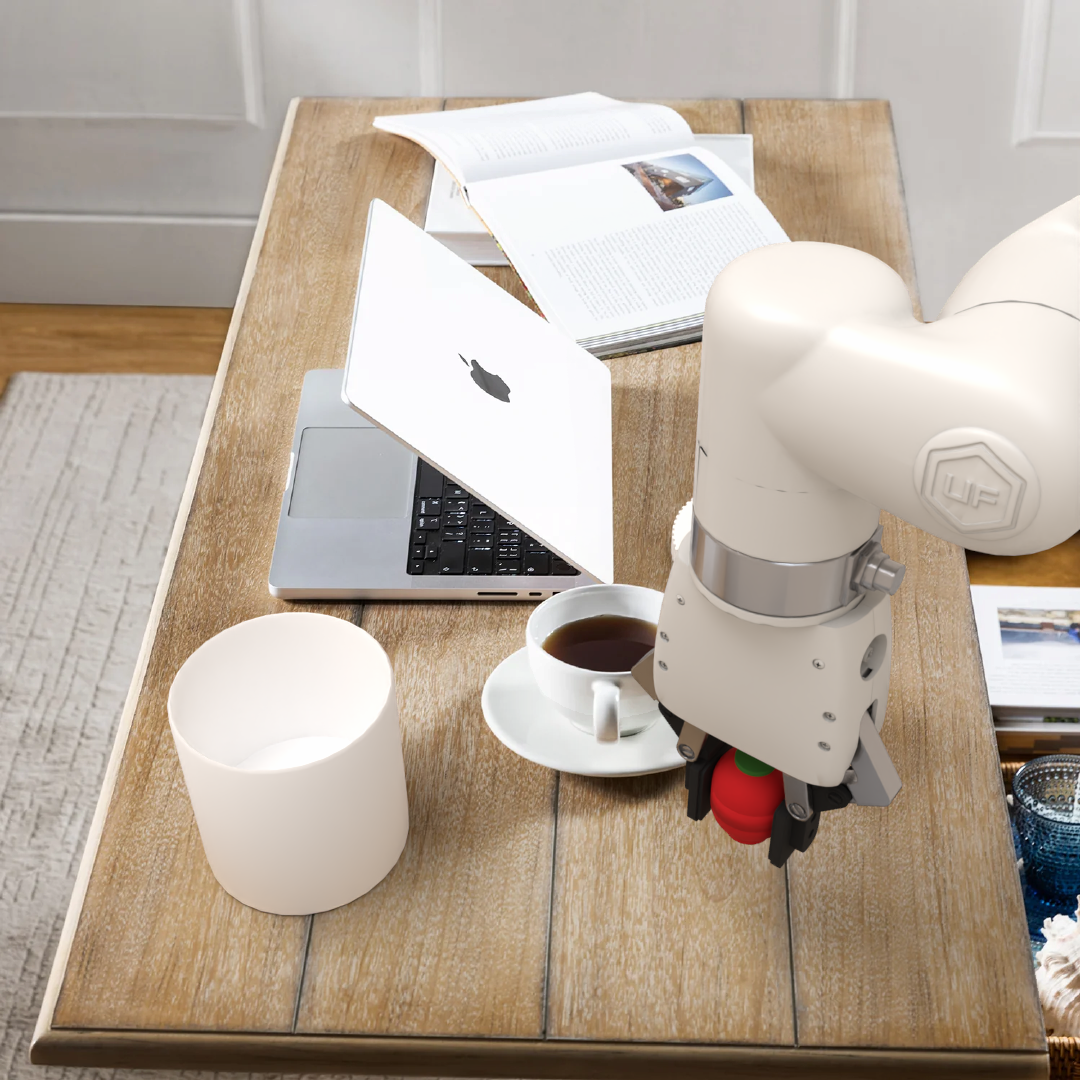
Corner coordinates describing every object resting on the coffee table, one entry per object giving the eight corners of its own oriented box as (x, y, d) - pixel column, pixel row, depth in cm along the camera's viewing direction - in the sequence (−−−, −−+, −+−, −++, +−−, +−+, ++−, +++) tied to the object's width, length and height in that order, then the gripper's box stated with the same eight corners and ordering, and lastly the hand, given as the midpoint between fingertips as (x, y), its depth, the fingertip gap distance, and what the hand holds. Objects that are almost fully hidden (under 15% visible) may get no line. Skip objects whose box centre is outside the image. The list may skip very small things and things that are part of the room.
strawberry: (802, 819, 65) (813, 750, 61) (762, 872, 62) (771, 802, 59) (734, 783, 67) (741, 714, 63) (692, 832, 64) (698, 763, 61)
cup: (416, 753, 79) (402, 609, 71) (401, 916, 70) (383, 772, 62) (226, 754, 79) (192, 610, 71) (186, 917, 70) (142, 773, 62)
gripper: (1012, 571, 51) (935, 857, 63) (663, 434, 59) (652, 709, 71) (931, 678, 47) (865, 965, 58) (565, 514, 55) (570, 793, 66)
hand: (748, 821), depth 64 cm, fingers closed on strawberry, 4 cm apart
